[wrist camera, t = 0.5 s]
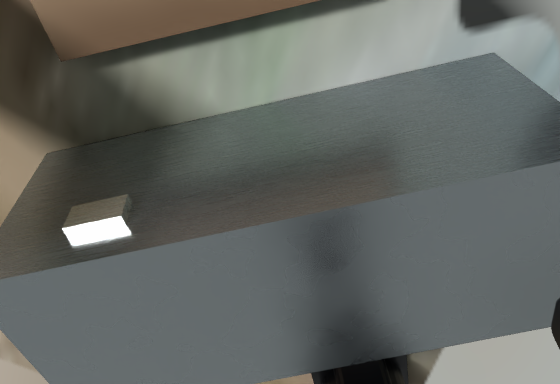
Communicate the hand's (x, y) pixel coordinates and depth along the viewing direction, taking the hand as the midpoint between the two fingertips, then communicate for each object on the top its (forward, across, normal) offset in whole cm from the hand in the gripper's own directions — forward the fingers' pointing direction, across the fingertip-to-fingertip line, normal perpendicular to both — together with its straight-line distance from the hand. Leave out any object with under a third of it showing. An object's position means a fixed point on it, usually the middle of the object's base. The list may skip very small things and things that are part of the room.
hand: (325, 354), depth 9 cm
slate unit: (+13, +1, +4) cm, 14 cm away
